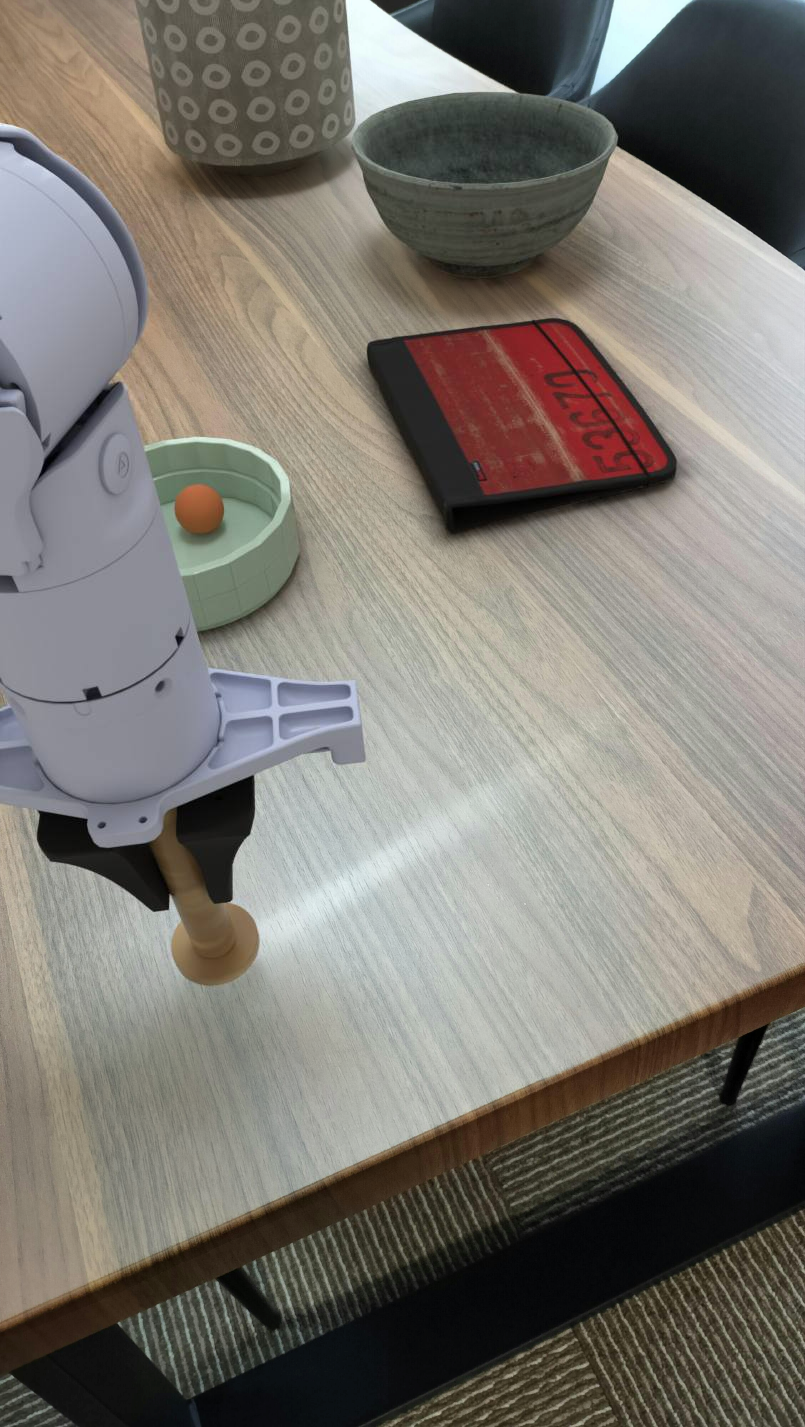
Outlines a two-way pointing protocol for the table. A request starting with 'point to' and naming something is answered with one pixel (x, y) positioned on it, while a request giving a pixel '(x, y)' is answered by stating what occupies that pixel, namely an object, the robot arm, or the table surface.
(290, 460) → the table surface
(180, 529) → the mixing bowl
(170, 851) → the stick
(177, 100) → the planter
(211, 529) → the ball
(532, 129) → the bowl
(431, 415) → the notebook
